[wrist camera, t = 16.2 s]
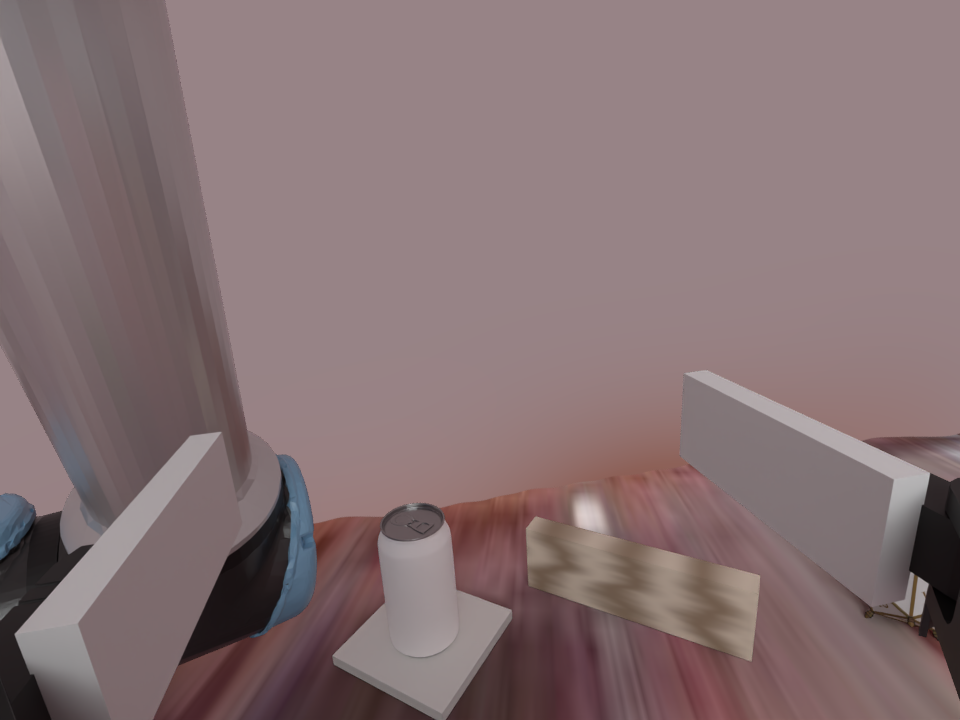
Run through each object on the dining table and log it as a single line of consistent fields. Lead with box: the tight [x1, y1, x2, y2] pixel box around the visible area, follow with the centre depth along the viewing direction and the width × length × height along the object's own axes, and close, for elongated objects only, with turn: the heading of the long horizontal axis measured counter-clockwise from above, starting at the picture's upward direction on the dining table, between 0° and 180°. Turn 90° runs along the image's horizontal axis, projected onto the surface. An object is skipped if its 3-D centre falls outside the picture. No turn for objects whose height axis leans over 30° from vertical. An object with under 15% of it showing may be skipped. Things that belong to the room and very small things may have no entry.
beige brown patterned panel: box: [526, 517, 760, 662], centre depth 49 cm, size 21×2×7 cm, turn 60°
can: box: [378, 503, 459, 658], centre depth 46 cm, size 6×6×12 cm
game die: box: [865, 572, 938, 638], centre depth 46 cm, size 9×8×10 cm
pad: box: [332, 590, 512, 720], centre depth 48 cm, size 12×12×1 cm
